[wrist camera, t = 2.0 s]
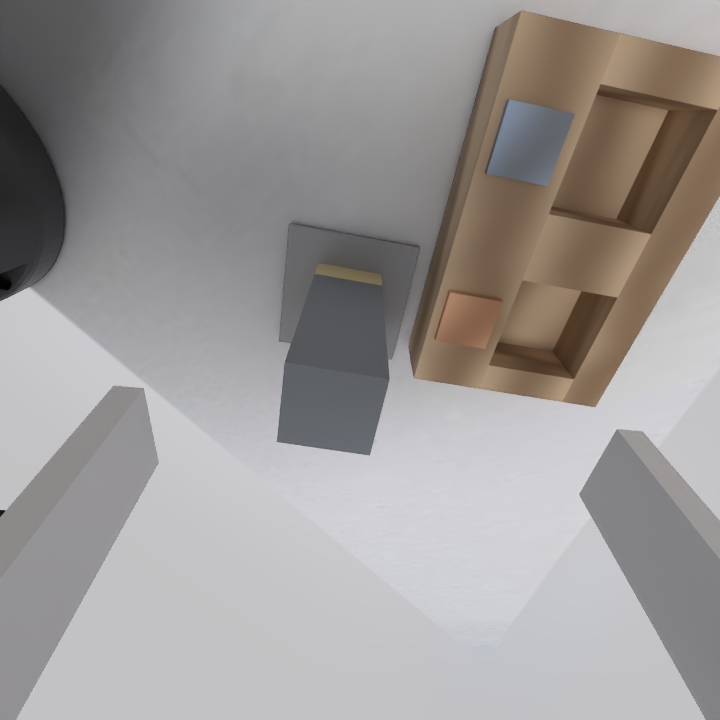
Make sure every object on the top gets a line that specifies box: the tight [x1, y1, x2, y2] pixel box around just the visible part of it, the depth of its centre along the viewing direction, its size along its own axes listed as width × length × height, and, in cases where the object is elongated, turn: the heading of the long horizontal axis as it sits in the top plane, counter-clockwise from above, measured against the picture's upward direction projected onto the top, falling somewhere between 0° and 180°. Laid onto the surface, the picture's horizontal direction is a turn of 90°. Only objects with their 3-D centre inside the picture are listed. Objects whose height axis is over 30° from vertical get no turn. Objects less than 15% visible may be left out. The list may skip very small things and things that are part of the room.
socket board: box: [409, 10, 720, 407], centre depth 23 cm, size 12×18×4 cm, turn 170°
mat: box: [279, 223, 420, 359], centre depth 27 cm, size 8×8×1 cm
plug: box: [277, 263, 389, 455], centre depth 22 cm, size 4×4×12 cm
